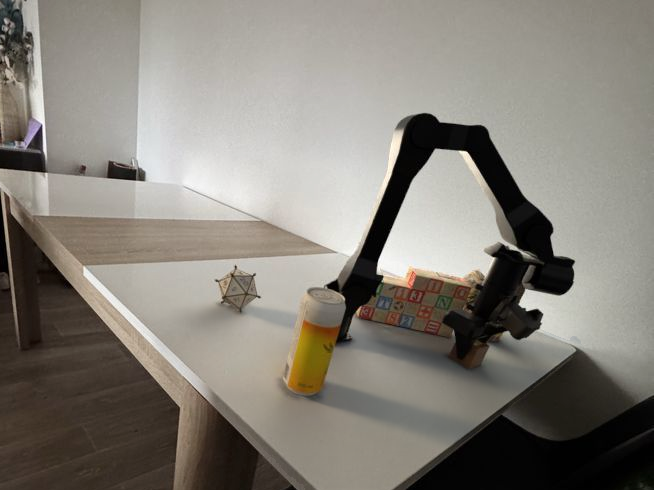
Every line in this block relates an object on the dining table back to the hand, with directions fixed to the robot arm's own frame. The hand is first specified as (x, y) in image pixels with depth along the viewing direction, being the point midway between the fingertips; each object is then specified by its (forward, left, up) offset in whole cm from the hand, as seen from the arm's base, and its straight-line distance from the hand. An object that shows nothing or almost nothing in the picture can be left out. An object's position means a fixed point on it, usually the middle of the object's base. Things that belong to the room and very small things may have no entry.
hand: (466, 356), depth 77 cm
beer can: (-38, +4, -1) cm, 38 cm away
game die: (-35, +31, -1) cm, 47 cm away
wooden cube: (0, 0, -1) cm, 1 cm away
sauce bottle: (+18, +5, -1) cm, 19 cm away
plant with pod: (+22, +14, -1) cm, 26 cm away
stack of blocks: (+1, +17, -1) cm, 17 cm away
